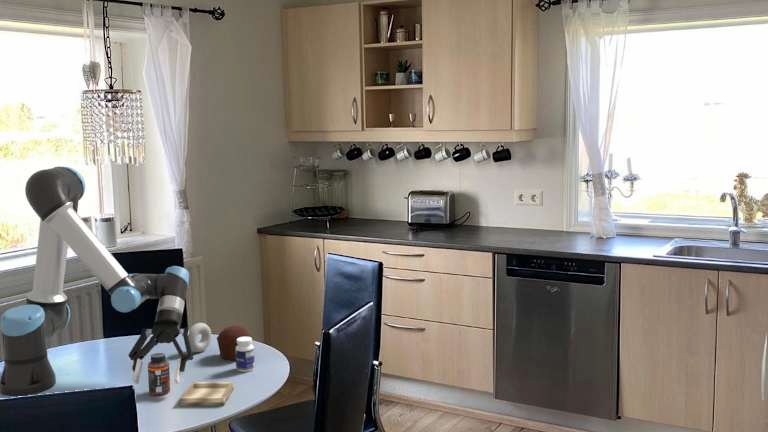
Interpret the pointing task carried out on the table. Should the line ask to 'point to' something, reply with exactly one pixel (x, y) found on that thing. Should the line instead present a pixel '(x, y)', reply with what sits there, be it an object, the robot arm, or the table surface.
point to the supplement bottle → (158, 374)
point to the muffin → (230, 341)
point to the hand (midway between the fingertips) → (155, 381)
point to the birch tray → (207, 394)
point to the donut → (205, 337)
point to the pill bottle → (244, 354)
